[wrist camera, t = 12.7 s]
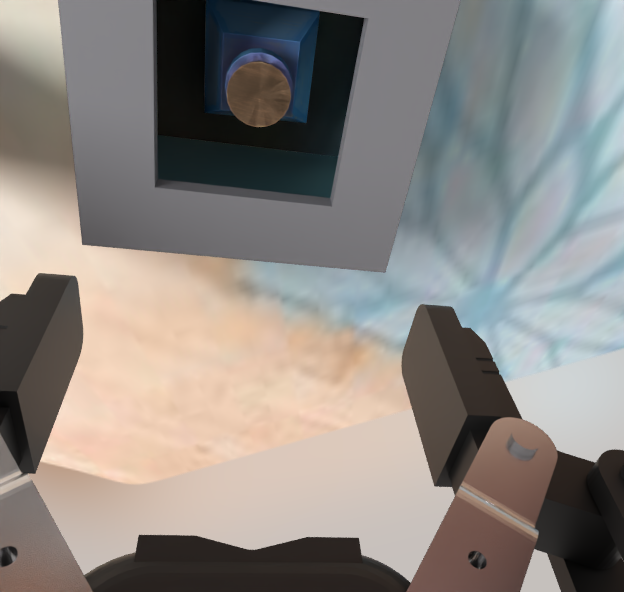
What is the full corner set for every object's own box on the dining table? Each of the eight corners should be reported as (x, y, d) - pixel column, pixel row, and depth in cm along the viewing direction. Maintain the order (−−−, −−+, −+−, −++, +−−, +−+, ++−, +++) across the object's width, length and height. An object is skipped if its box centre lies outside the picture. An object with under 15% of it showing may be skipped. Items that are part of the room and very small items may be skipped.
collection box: (132, 144, 41) (82, 244, 29) (122, -139, 31) (42, -152, 20) (353, 171, 43) (385, 272, 32) (407, -85, 34) (479, -70, 22)
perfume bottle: (312, -6, 36) (329, 35, 26) (301, 92, 39) (312, 160, 30) (214, -19, 35) (195, 19, 25) (211, 83, 39) (194, 149, 29)
